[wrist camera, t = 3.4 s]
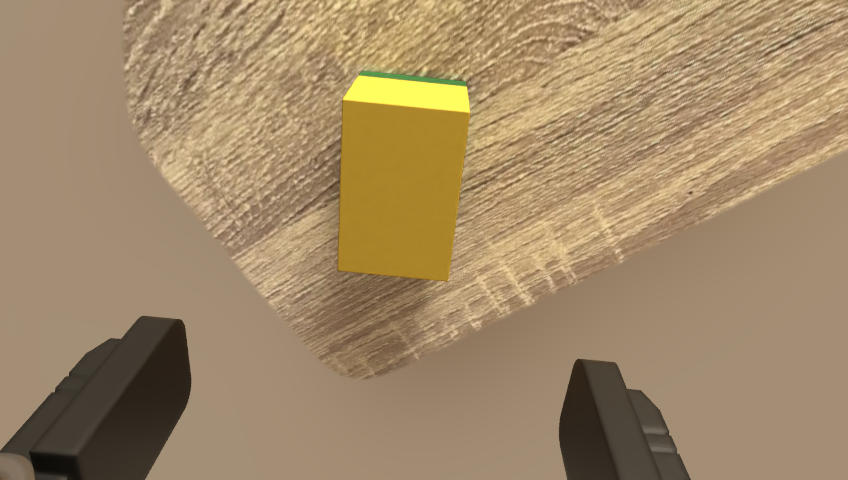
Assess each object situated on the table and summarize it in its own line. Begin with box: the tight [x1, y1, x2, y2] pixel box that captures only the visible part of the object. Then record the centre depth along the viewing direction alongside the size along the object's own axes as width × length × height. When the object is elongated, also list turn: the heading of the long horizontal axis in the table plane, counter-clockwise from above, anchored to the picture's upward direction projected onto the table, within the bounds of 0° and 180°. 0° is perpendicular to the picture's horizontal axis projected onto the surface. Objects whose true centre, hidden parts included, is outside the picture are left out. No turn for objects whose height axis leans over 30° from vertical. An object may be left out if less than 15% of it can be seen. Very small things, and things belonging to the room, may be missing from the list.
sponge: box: [338, 71, 470, 282], centre depth 24 cm, size 4×7×5 cm, turn 175°
